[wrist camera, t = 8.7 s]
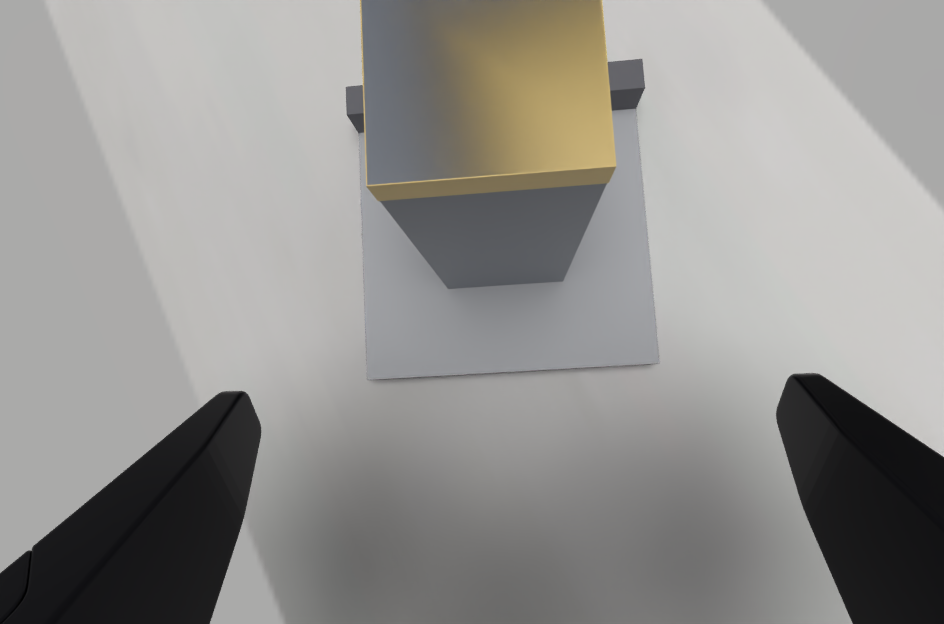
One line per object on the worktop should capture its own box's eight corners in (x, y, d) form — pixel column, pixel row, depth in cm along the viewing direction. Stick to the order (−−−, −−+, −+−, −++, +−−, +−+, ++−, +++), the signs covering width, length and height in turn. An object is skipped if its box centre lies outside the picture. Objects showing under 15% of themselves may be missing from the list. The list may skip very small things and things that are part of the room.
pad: (652, 363, 21) (671, 361, 18) (374, 379, 21) (355, 379, 19) (628, 95, 22) (642, 58, 19) (364, 119, 22) (345, 86, 20)
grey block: (563, 282, 20) (617, 166, 9) (447, 289, 20) (366, 186, 10) (555, 169, 21) (596, -68, 10) (442, 178, 21) (358, -41, 10)
